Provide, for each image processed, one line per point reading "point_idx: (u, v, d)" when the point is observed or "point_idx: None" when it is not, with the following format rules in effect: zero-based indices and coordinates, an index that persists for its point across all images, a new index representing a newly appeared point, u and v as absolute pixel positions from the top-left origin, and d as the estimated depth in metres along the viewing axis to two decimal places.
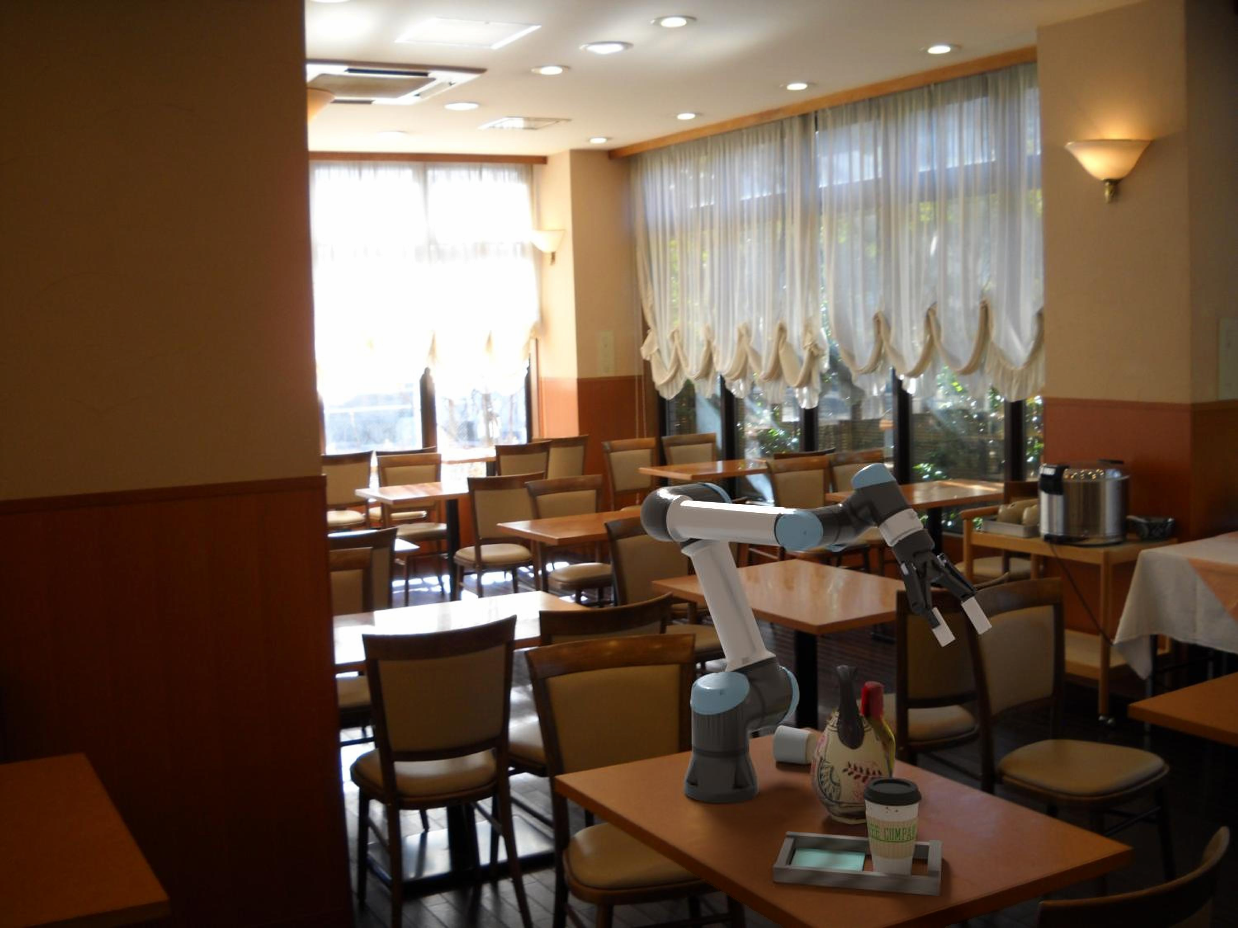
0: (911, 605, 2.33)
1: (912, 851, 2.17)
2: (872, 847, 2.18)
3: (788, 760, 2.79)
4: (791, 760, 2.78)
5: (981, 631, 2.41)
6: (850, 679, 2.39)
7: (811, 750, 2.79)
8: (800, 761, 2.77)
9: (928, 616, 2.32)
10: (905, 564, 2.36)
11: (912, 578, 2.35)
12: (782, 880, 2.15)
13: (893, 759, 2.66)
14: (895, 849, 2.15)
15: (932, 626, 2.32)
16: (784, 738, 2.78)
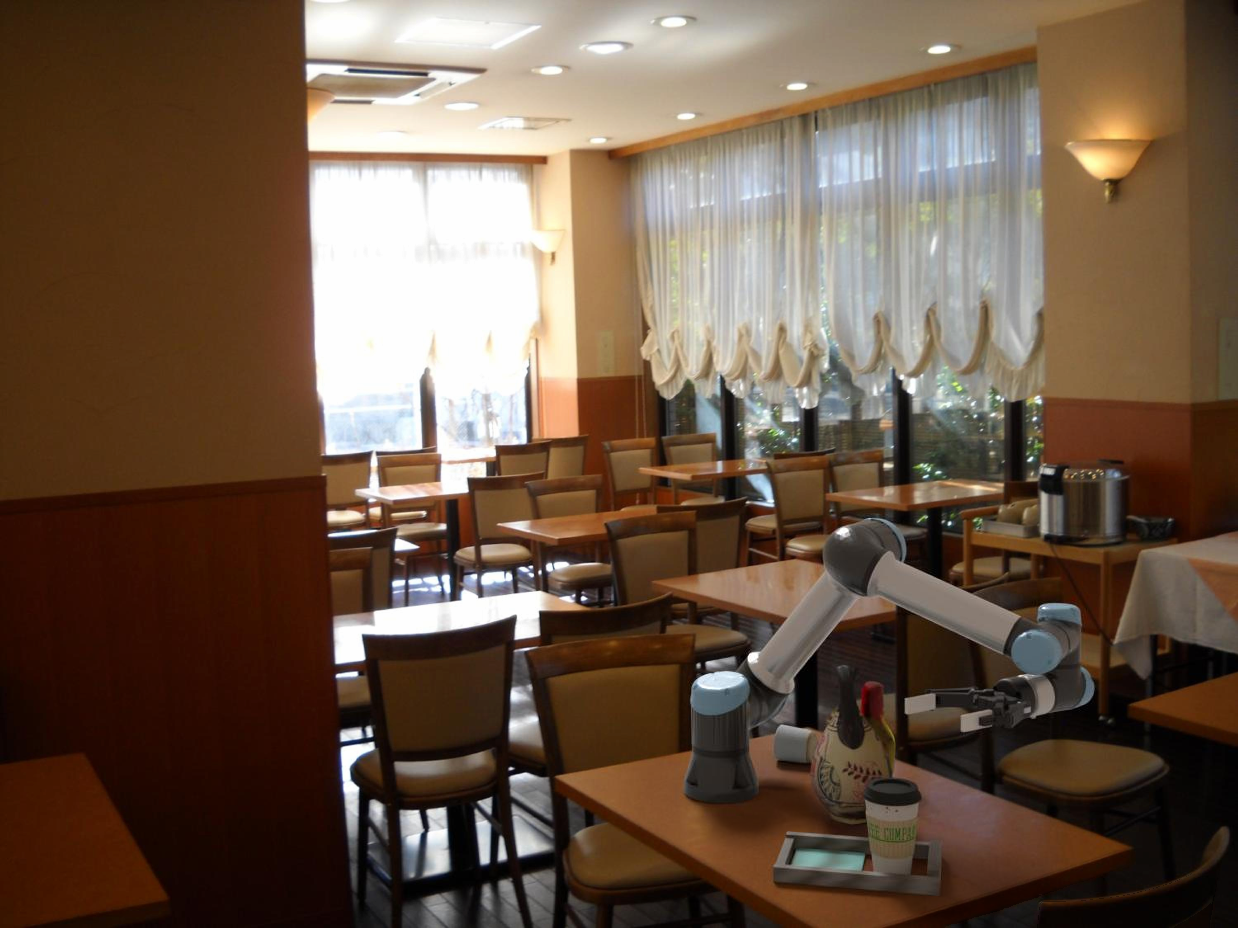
0: (1013, 714, 2.18)
1: (912, 851, 2.17)
2: (872, 847, 2.18)
3: (789, 759, 2.79)
4: (792, 759, 2.79)
5: (908, 702, 2.27)
6: (850, 679, 2.39)
7: (812, 749, 2.79)
8: (801, 760, 2.78)
9: (993, 720, 2.17)
10: (1030, 713, 2.24)
11: (1021, 718, 2.22)
12: (782, 880, 2.15)
13: (893, 759, 2.66)
14: (895, 849, 2.15)
15: (985, 720, 2.16)
16: (785, 737, 2.79)
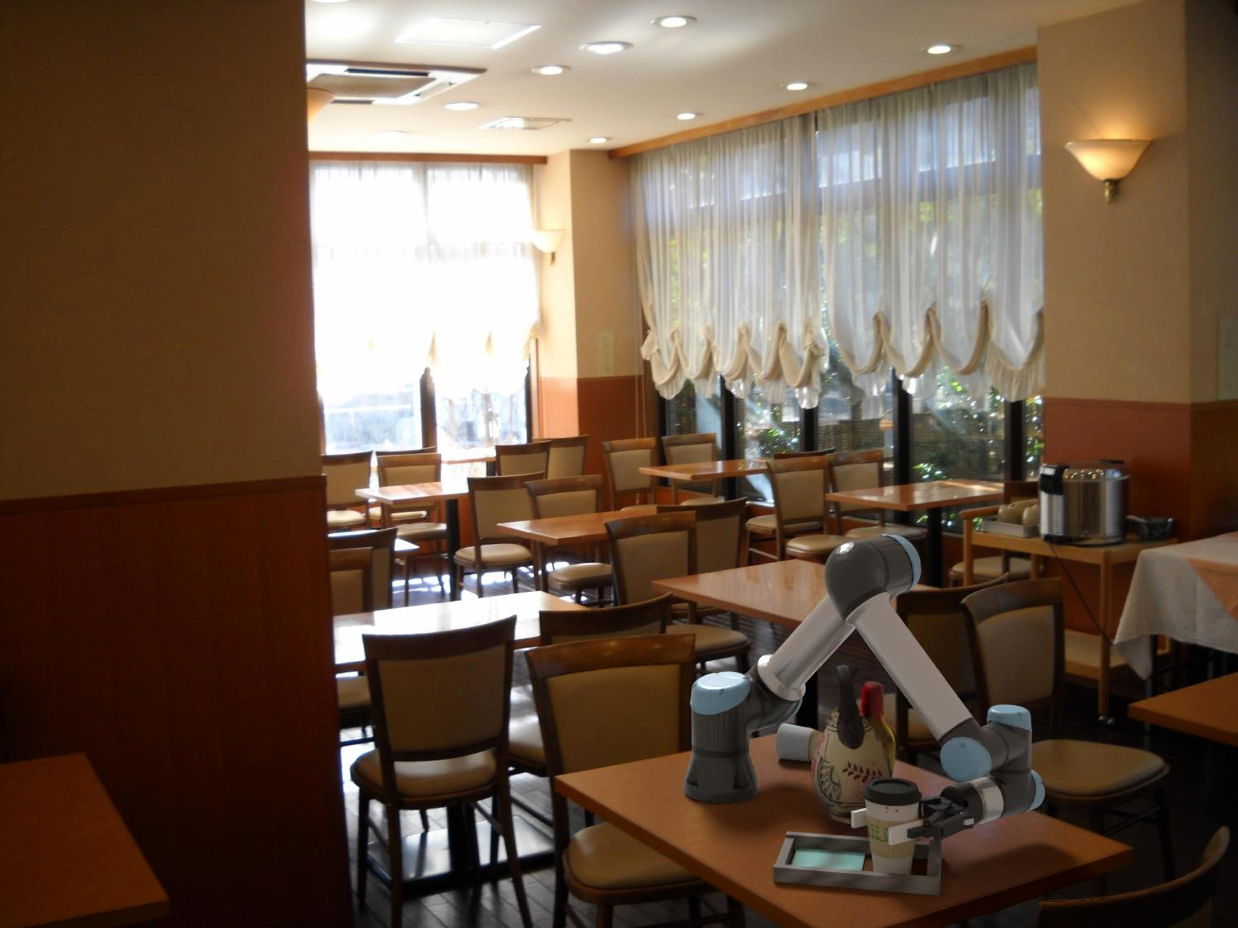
0: (942, 826, 2.14)
1: (912, 851, 2.17)
2: (872, 847, 2.18)
3: (791, 757, 2.81)
4: (794, 757, 2.80)
5: (855, 816, 2.20)
6: (850, 679, 2.39)
7: (814, 747, 2.80)
8: (803, 758, 2.79)
9: (921, 832, 2.14)
10: (972, 824, 2.18)
11: (959, 830, 2.17)
12: (782, 880, 2.15)
13: (893, 759, 2.66)
14: (895, 849, 2.15)
15: (913, 833, 2.13)
16: (787, 736, 2.80)
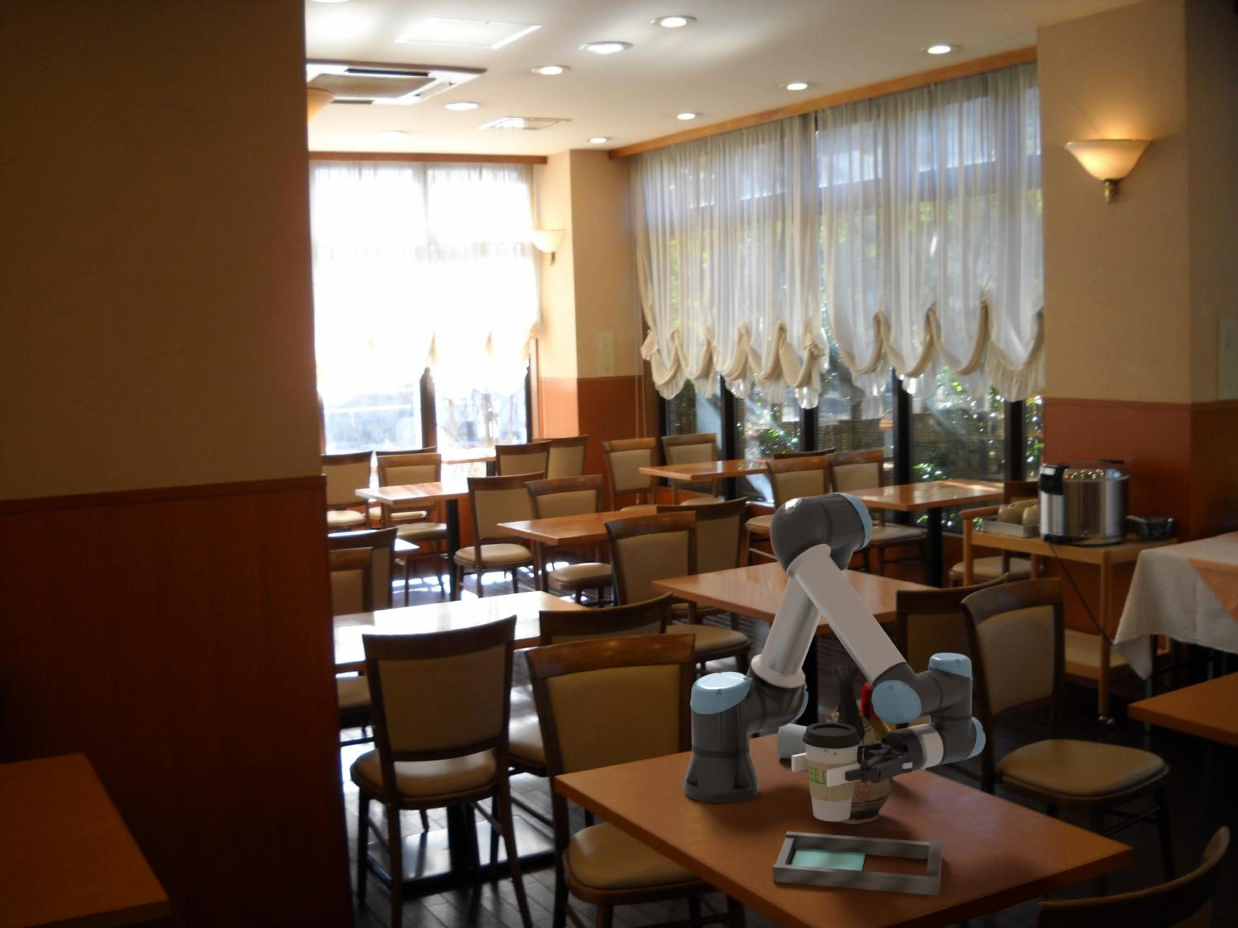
0: (880, 769, 2.16)
1: (851, 794, 2.19)
2: (811, 790, 2.20)
3: None
4: None
5: (795, 760, 2.22)
6: (850, 679, 2.39)
7: None
8: None
9: (859, 775, 2.16)
10: (910, 768, 2.21)
11: (897, 773, 2.19)
12: (782, 880, 2.15)
13: None
14: (834, 792, 2.17)
15: (851, 775, 2.15)
16: (788, 735, 2.81)
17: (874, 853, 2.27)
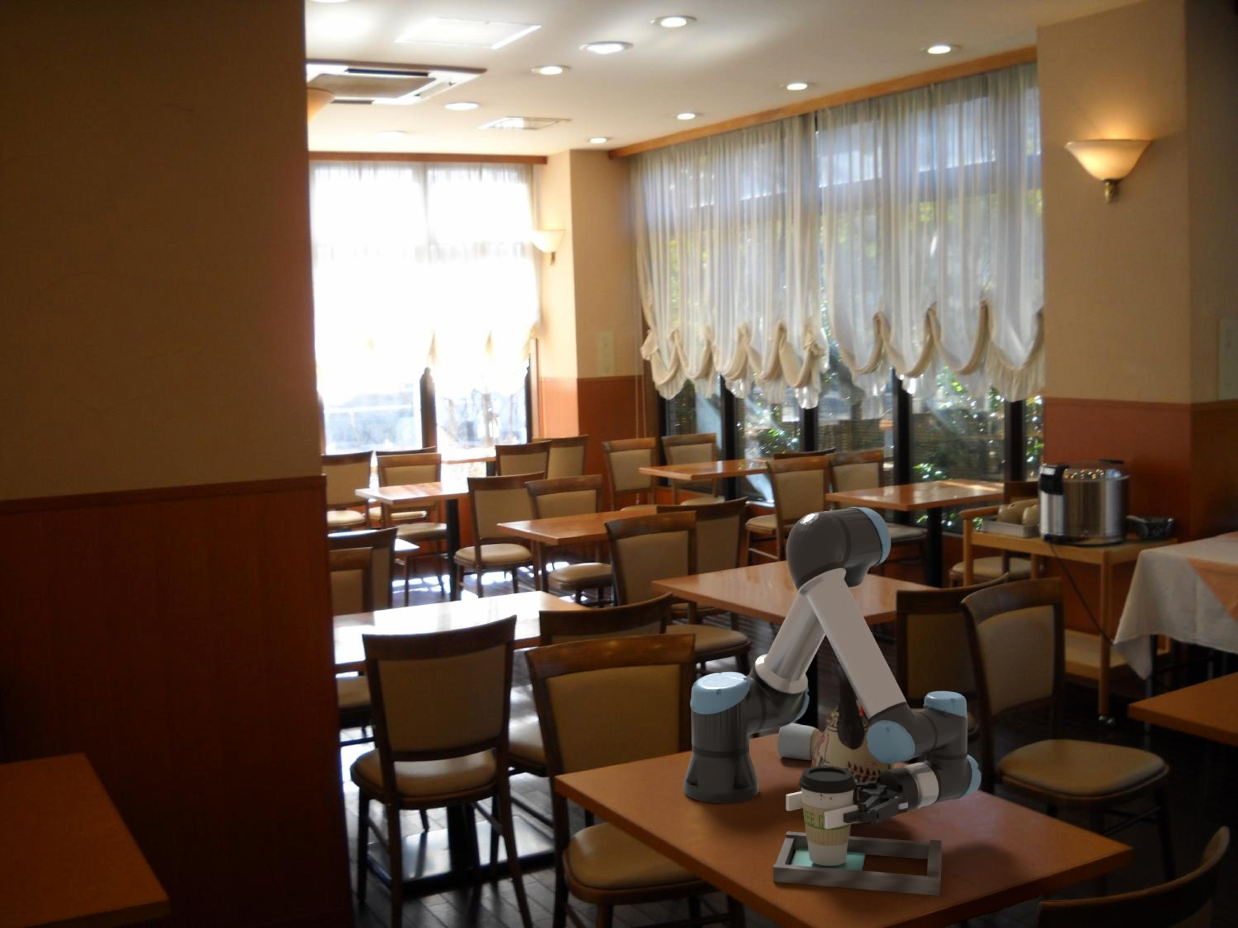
0: (878, 811, 2.16)
1: (847, 838, 2.19)
2: (807, 834, 2.20)
3: (793, 756, 2.82)
4: (796, 756, 2.81)
5: (789, 799, 2.23)
6: None
7: None
8: (805, 757, 2.80)
9: (857, 817, 2.16)
10: (906, 808, 2.21)
11: (894, 814, 2.20)
12: (782, 880, 2.15)
13: None
14: (829, 836, 2.18)
15: (849, 817, 2.15)
16: (789, 734, 2.81)
17: (874, 853, 2.27)
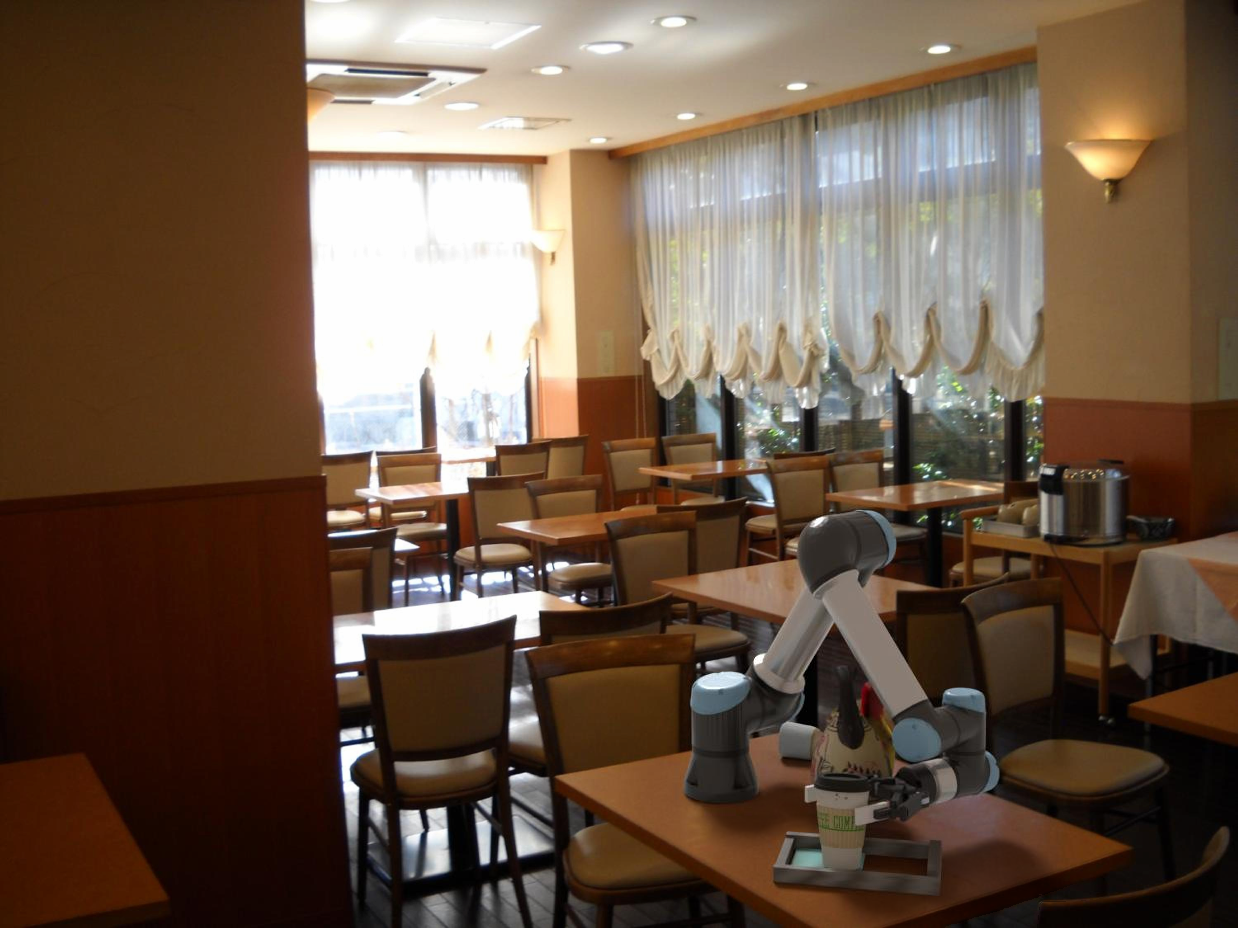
0: (908, 807, 2.17)
1: (861, 843, 2.18)
2: (822, 838, 2.19)
3: (793, 755, 2.82)
4: (796, 755, 2.82)
5: (808, 790, 2.27)
6: (850, 679, 2.39)
7: None
8: (805, 756, 2.81)
9: (888, 813, 2.17)
10: (928, 803, 2.23)
11: (918, 809, 2.21)
12: (782, 880, 2.15)
13: (893, 759, 2.66)
14: (844, 838, 2.16)
15: (879, 813, 2.16)
16: (789, 734, 2.82)
17: (874, 853, 2.27)
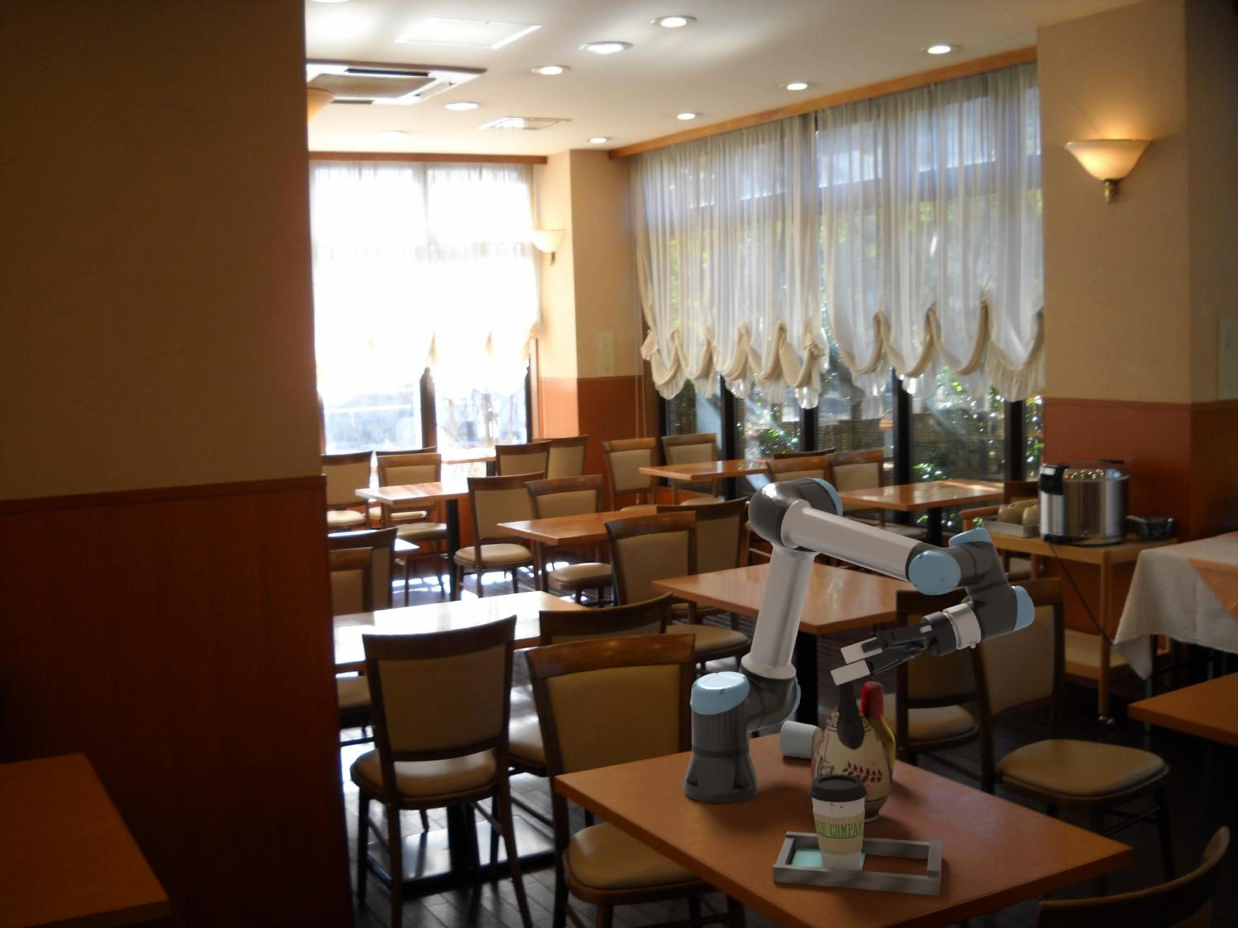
0: (891, 630, 2.21)
1: (859, 847, 2.17)
2: (820, 844, 2.18)
3: (794, 755, 2.83)
4: (797, 755, 2.82)
5: (833, 673, 2.35)
6: None
7: None
8: (806, 756, 2.81)
9: (875, 643, 2.22)
10: (930, 631, 2.24)
11: (916, 636, 2.23)
12: (782, 880, 2.15)
13: (893, 759, 2.66)
14: (842, 845, 2.16)
15: (864, 645, 2.22)
16: (791, 733, 2.82)
17: (874, 853, 2.27)
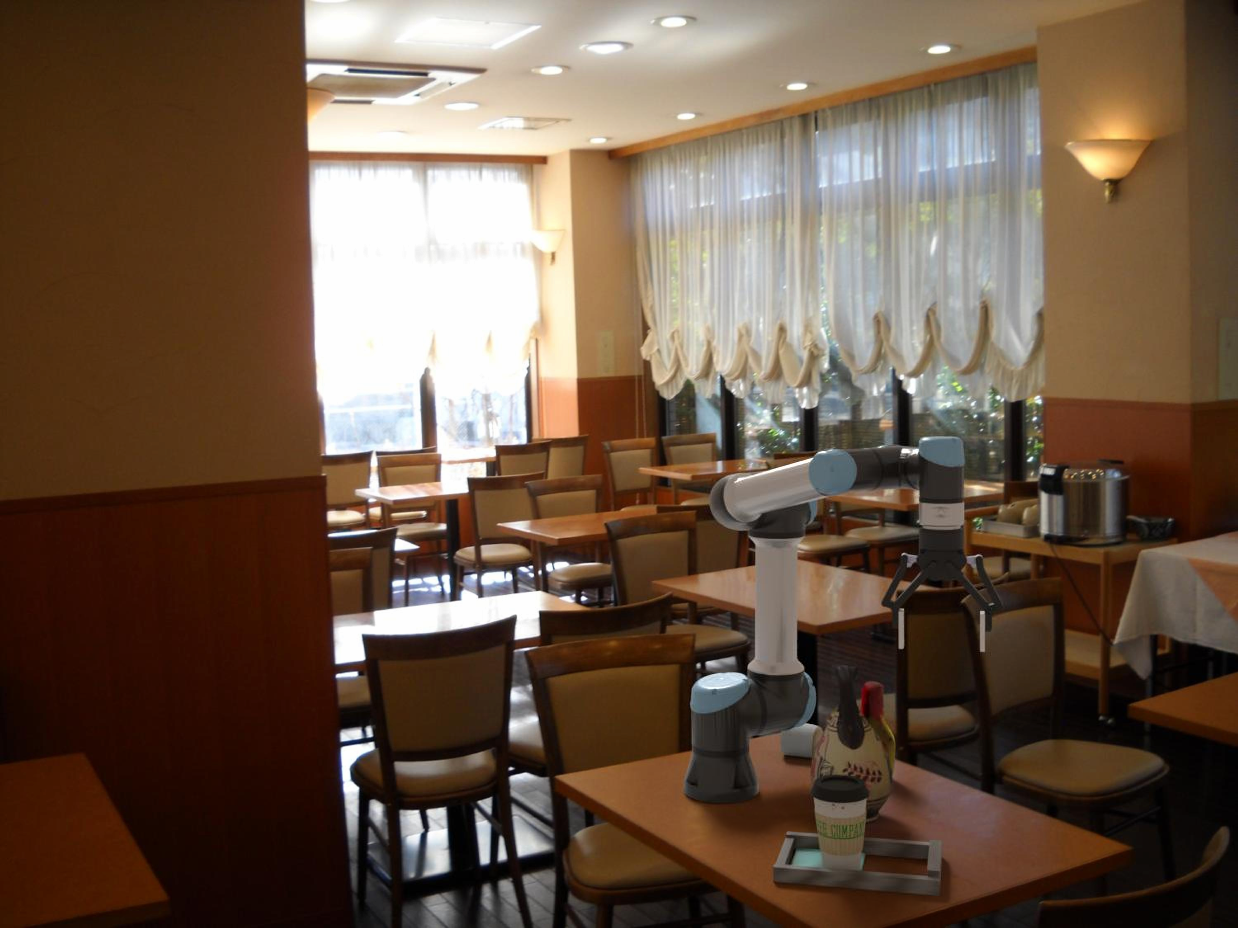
0: None
1: (860, 848, 2.17)
2: (820, 844, 2.18)
3: (795, 754, 2.83)
4: (798, 754, 2.83)
5: None
6: (850, 679, 2.39)
7: None
8: (807, 755, 2.82)
9: None
10: (901, 556, 2.23)
11: (896, 574, 2.23)
12: (782, 880, 2.15)
13: (893, 759, 2.66)
14: (842, 846, 2.16)
15: None
16: (791, 732, 2.83)
17: (874, 853, 2.27)
